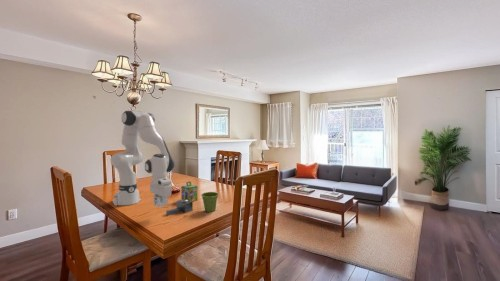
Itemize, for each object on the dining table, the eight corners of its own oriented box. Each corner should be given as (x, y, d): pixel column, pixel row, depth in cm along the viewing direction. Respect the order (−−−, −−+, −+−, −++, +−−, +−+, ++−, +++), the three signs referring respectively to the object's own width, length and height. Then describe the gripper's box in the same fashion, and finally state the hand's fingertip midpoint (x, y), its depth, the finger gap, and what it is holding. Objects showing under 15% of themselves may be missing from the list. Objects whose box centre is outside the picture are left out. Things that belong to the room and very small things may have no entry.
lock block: (153, 205, 147) (153, 196, 147) (162, 203, 152) (162, 193, 152) (158, 207, 143) (157, 197, 143) (167, 204, 148) (167, 195, 148)
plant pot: (197, 210, 161) (197, 194, 160) (212, 206, 169) (212, 191, 168) (207, 214, 152) (207, 197, 152) (222, 210, 160) (222, 194, 160)
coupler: (163, 213, 155) (163, 203, 155) (184, 207, 167) (184, 197, 167) (171, 216, 148) (171, 206, 148) (192, 210, 160) (192, 200, 160)
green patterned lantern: (189, 203, 177) (188, 183, 176) (180, 201, 182) (180, 182, 181) (198, 200, 185) (197, 181, 184) (189, 198, 190) (189, 180, 189)
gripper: (147, 178, 151) (147, 199, 152) (163, 182, 138) (164, 206, 139) (156, 177, 156) (157, 197, 157) (173, 181, 143) (173, 203, 143)
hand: (160, 201), depth 147 cm, fingers closed on lock block, 6 cm apart
